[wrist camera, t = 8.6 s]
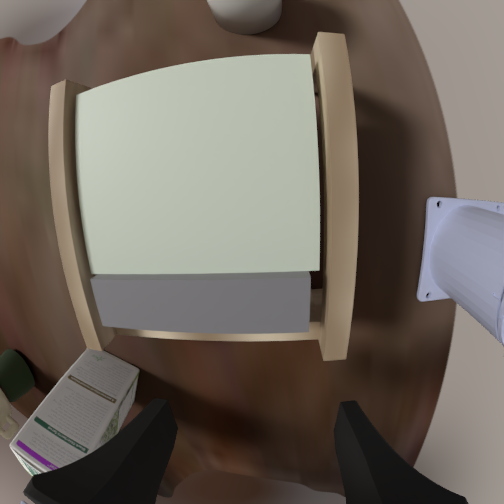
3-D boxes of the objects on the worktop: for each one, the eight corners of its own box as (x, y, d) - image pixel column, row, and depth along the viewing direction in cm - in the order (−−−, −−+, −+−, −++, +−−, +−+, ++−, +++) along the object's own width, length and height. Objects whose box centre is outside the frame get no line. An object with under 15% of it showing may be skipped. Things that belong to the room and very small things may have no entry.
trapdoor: (314, 313, 14) (319, 331, 13) (110, 311, 15) (96, 325, 14) (307, 62, 11) (312, 47, 9) (86, 98, 12) (67, 92, 10)
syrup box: (90, 341, 23) (3, 442, 9) (143, 368, 23) (72, 493, 9) (89, 378, 24) (22, 470, 10) (137, 402, 24) (82, 509, 10)
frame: (321, 76, 15) (344, 34, 9) (325, 303, 20) (345, 359, 13) (108, 103, 16) (51, 86, 10) (130, 304, 21) (87, 348, 14)
